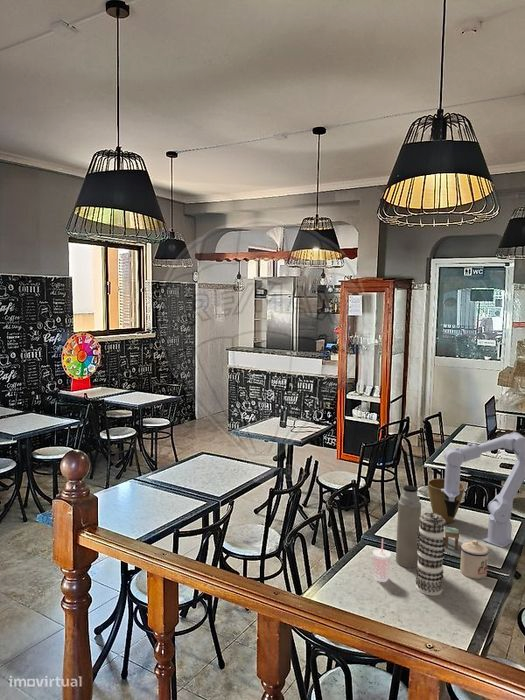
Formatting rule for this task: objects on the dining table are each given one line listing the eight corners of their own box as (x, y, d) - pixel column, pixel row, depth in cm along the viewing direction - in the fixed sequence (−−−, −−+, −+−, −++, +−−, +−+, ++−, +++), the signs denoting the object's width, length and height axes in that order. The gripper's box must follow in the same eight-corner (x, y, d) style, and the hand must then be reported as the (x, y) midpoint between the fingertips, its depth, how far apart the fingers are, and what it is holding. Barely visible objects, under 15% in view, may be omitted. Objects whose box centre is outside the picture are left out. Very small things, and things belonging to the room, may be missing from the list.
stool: (444, 542, 210) (445, 526, 209) (458, 544, 208) (458, 528, 208) (444, 548, 205) (445, 531, 205) (458, 550, 204) (459, 533, 203)
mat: (445, 537, 215) (445, 536, 215) (474, 548, 206) (474, 547, 206) (429, 546, 207) (429, 545, 207) (458, 557, 198) (458, 556, 198)
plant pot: (419, 519, 234) (421, 483, 232) (437, 510, 244) (438, 476, 242) (451, 530, 223) (453, 492, 221) (468, 520, 233) (470, 485, 231)
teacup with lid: (482, 582, 181) (484, 549, 180) (455, 573, 187) (457, 541, 186) (493, 569, 190) (495, 537, 189) (467, 561, 196) (469, 530, 195)
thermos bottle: (398, 555, 199) (401, 482, 197) (420, 560, 196) (423, 485, 194) (393, 564, 192) (397, 488, 190) (416, 569, 189) (420, 492, 186)
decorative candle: (411, 580, 181) (414, 509, 179) (438, 581, 181) (442, 510, 178) (418, 595, 172) (421, 520, 170) (447, 596, 172) (451, 521, 169)
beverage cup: (379, 584, 178) (381, 544, 177) (368, 576, 183) (369, 537, 182) (393, 580, 181) (395, 540, 180) (382, 572, 186) (383, 533, 185)
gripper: (441, 473, 221) (440, 505, 222) (441, 484, 207) (439, 518, 209) (459, 475, 219) (458, 507, 220) (460, 486, 205) (459, 520, 206)
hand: (450, 512), depth 214 cm, fingers open, 7 cm apart
